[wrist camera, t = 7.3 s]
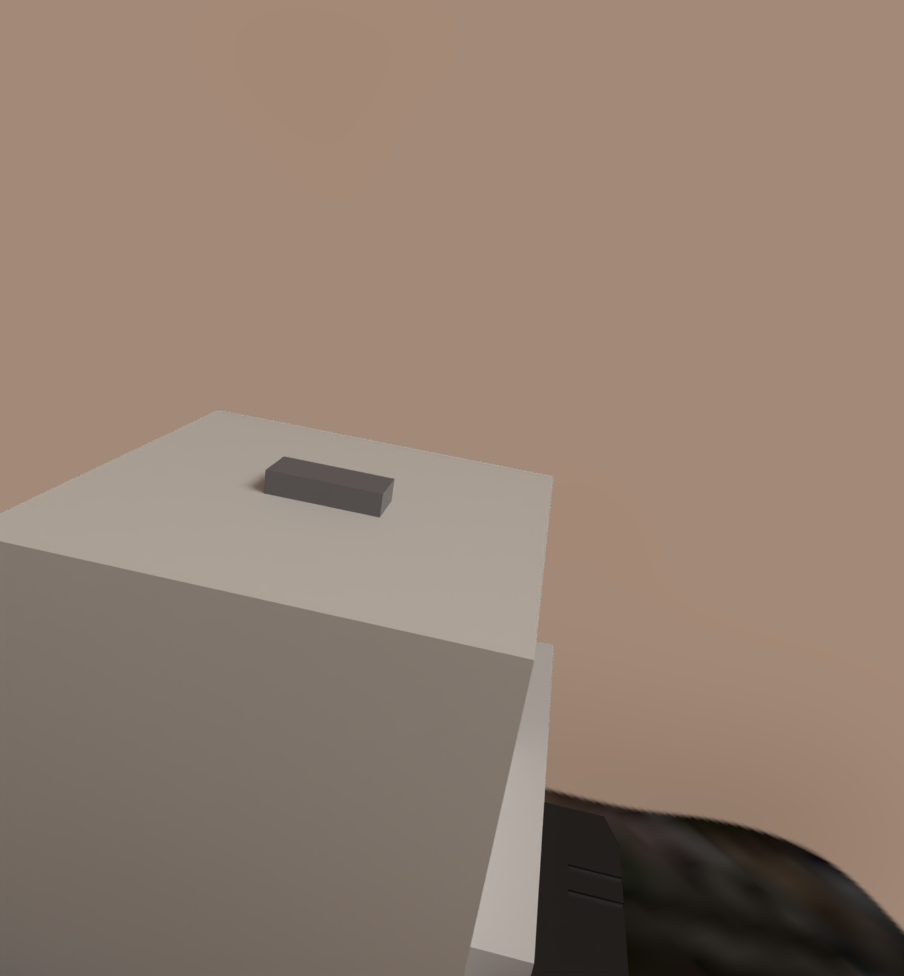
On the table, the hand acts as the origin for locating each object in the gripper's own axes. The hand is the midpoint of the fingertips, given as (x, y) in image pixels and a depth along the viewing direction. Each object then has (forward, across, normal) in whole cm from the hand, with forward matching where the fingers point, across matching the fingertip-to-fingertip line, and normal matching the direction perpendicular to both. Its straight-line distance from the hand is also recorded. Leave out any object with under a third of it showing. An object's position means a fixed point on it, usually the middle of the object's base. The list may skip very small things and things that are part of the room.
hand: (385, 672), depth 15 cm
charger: (-5, 0, -8) cm, 9 cm away
